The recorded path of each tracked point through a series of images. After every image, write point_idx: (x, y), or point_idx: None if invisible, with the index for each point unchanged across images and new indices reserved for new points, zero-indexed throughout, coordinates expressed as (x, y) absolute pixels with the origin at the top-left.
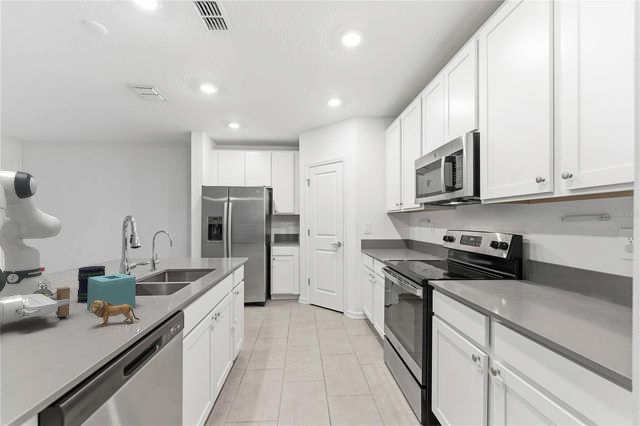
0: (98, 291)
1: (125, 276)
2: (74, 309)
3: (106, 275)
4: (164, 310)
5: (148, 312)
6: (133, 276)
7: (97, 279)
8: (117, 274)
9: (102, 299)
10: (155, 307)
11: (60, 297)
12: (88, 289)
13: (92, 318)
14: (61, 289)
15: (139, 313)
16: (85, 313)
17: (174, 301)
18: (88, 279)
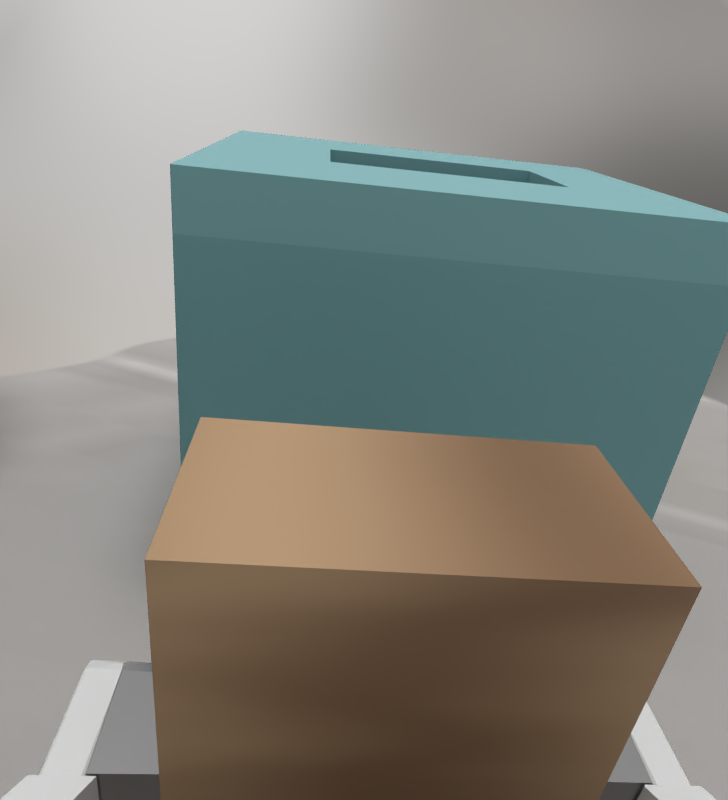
0: (594, 374)
1: (494, 162)
2: (4, 683)
3: (238, 144)
4: (711, 410)
5: (713, 450)
6: (548, 165)
7: (488, 192)
8: (288, 140)
9: (670, 461)
10: None
11: (557, 779)
12: (206, 366)
13: (682, 703)
14: (650, 572)
15: (711, 476)
16: None
17: None
18: (194, 198)
